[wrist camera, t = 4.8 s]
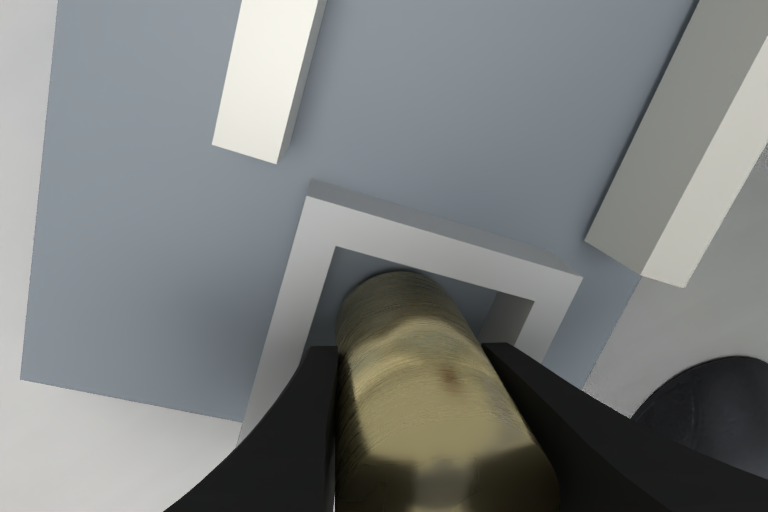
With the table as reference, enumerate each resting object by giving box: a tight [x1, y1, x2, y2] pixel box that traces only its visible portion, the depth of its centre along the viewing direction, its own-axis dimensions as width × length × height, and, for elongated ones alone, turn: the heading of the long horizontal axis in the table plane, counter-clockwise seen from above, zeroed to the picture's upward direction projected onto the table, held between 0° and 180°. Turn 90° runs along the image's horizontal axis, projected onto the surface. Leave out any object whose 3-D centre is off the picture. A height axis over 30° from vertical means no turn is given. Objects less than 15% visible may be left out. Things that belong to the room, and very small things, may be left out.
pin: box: [335, 271, 560, 512], centre depth 10 cm, size 3×3×6 cm
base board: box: [20, 0, 700, 447], centre depth 11 cm, size 16×24×4 cm, turn 162°
